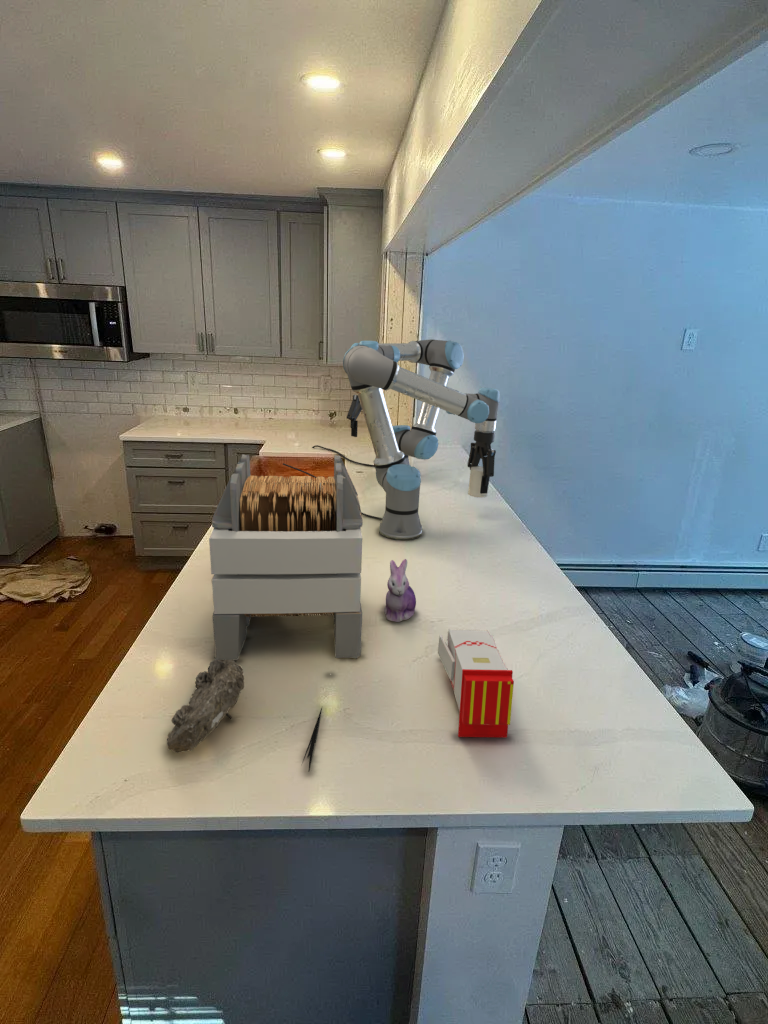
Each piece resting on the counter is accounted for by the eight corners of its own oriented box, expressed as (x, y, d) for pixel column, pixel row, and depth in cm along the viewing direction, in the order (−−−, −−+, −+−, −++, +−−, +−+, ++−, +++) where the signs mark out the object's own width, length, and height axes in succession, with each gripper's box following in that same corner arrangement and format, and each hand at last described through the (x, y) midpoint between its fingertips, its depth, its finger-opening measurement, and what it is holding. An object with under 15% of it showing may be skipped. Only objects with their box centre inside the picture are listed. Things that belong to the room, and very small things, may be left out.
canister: (472, 497, 213) (475, 471, 210) (464, 491, 220) (467, 466, 216) (490, 497, 215) (493, 471, 212) (482, 491, 222) (485, 466, 218)
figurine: (392, 627, 141) (395, 572, 136) (374, 608, 149) (376, 556, 144) (425, 619, 145) (429, 566, 140) (405, 601, 154) (408, 550, 149)
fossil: (192, 660, 117) (244, 628, 112) (224, 691, 120) (276, 661, 115) (142, 746, 98) (202, 712, 93) (182, 779, 101) (242, 748, 96)
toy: (488, 613, 130) (523, 677, 101) (484, 667, 133) (517, 744, 104) (435, 612, 130) (455, 676, 101) (432, 666, 133) (451, 743, 103)
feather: (331, 679, 122) (336, 673, 122) (307, 777, 96) (313, 769, 95) (324, 675, 122) (329, 669, 121) (298, 772, 95) (304, 764, 95)
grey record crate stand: (234, 590, 156) (226, 444, 142) (353, 588, 159) (357, 447, 146) (212, 662, 124) (200, 485, 110) (361, 659, 128) (367, 486, 114)
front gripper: (509, 436, 202) (501, 497, 210) (479, 425, 219) (472, 481, 227) (491, 437, 199) (483, 498, 207) (462, 425, 216) (456, 482, 224)
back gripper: (352, 384, 213) (350, 440, 220) (394, 380, 231) (392, 431, 238) (338, 382, 218) (337, 436, 225) (381, 378, 236) (379, 428, 243)
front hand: (477, 489), depth 217 cm, fingers closed on canister, 7 cm apart
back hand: (365, 434), depth 232 cm, fingers open, 13 cm apart
